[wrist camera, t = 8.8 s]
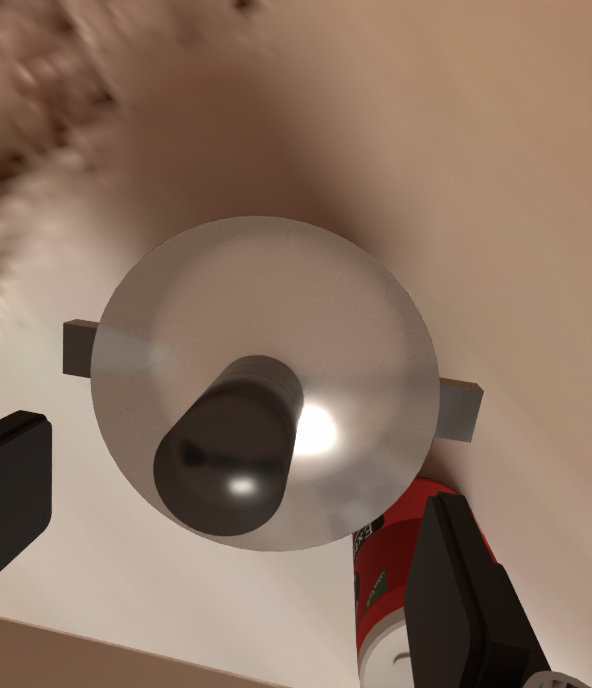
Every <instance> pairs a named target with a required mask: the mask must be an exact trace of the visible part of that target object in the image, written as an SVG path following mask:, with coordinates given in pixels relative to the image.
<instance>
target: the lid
mask: <svg viewBox="0 0 592 688" xmlns="http://www.w3.org/2000/svg"><path fill="white" fill-rule="evenodd" d="M90 373H91V393H92V399H93V405H94V411H95V415H96V418H97V422H98V425H99V428H100V432H101V434H102V436H103V439H104V441H105V443H106V445H107V448H108V450H109V452H110V454H111V456H112V457H113V459H114V461H115V462H116V464H117V466H118V467H119V469H120V471H121V472H122V473H123V474H124V476H125V477H126V478H127V480H128V481H129V482H130V484H131V485H132V486H133V487H134V488H135V489H136V490H137V492H138V493H139V494H140V495H141V496H142V497H143V498H144V499H145V500H146V501H147V502H148V503H149V504H151V505H152V506H153V507H154V508H156V509H157V510H158V511H159V512H160V513H162V514H163V515H164V516H166V517H167V518H169V519H170V520H172V521H173V522H175V523H176V524H178V525H179V526H181V527H183V528H185V529H187V530H189V531H191V532H193V533H195V534H197V535H199V536H201V537H204V538H206V539H209V540H212V541H215V542H217V543H220V544H224V545H228V546H232V547H236V548H240V549H248V550H255V551H278V552H282V551H292V550H302V549H307V548H311V547H316V546H321V545H324V544H327V543H330V542H333V541H336V540H338V539H341V538H344V537H346V536H348V535H350V534H352V533H354V532H356V531H358V530H360V529H362V528H363V527H365V526H366V525H368V524H369V523H371V522H372V521H374V520H375V519H377V518H378V517H379V516H380V515H382V514H383V513H384V512H385V511H386V510H387V509H388V508H390V507H391V506H392V505H393V504H394V503H395V502H396V501H397V500H398V499H399V497H400V496H401V495H402V494H403V493H404V492H405V491H406V489H407V488H408V487H409V486H410V484H411V483H412V481H413V479H414V478H415V476H416V475H417V473H418V472H419V470H420V469H421V466H422V464H423V462H424V460H425V458H426V456H427V454H428V452H429V450H430V446H431V443H432V440H433V437H434V433H435V430H436V425H437V419H438V413H439V407H440V380H439V372H438V364H437V359H436V355H435V351H434V348H433V344H432V340H431V337H430V335H429V332H428V330H427V328H426V325H425V323H424V321H423V318H422V316H421V314H420V313H419V311H418V309H417V308H416V306H415V304H414V303H413V301H412V299H411V298H410V296H409V294H408V293H407V292H406V291H405V290H404V288H403V287H402V286H401V285H400V283H399V282H398V281H397V280H396V278H395V277H394V276H393V275H392V274H391V273H390V272H389V271H388V270H387V269H386V268H385V267H384V266H383V265H381V264H380V263H379V262H378V261H377V260H376V259H375V258H374V257H372V256H371V255H370V254H368V253H367V252H365V251H364V250H363V249H361V248H360V247H358V246H357V245H355V244H354V243H352V242H350V241H349V240H347V239H345V238H343V237H341V236H339V235H337V234H335V233H333V232H331V231H329V230H326V229H323V228H320V227H318V226H315V225H312V224H309V223H306V222H301V221H297V220H292V219H287V218H283V217H270V216H242V217H230V218H226V219H221V220H216V221H211V222H207V223H204V224H201V225H199V226H196V227H193V228H190V229H188V230H185V231H183V232H181V233H179V234H177V235H176V236H174V237H172V238H170V239H168V240H166V241H164V242H163V243H162V244H160V245H159V246H157V247H156V248H155V249H153V250H152V251H151V252H149V253H148V254H147V255H145V256H144V257H143V258H142V259H141V260H140V261H139V262H138V263H137V264H136V265H135V266H134V267H133V268H132V269H131V270H130V271H129V272H128V274H127V275H126V276H125V278H124V279H123V280H122V281H121V283H120V284H119V285H118V287H117V288H116V290H115V291H114V293H113V295H112V297H111V298H110V300H109V302H108V304H107V306H106V307H105V310H104V312H103V315H102V317H101V320H100V323H99V325H98V328H97V332H96V336H95V340H94V345H93V349H92V359H91V369H90Z"/></svg>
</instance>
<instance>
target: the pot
mask: <svg viewBox="0 0 592 688" xmlns="http://www.w3.org/2000/svg"><path fill="white" fill-rule="evenodd" d="M98 325H99V323H98V322H92V321H85V320H79V319H75V320H72V321H68V322H65V323H63V374H68V375H74V376H80V377H86V378H91V373H90V369H91V359H92V349H93V345H94V340H95V336H96V332H97V328H98ZM439 380H440V407H439V413H438V419H437V425H436V430H435V433H434V437H440V438H446V439H452V440H458V441H464V442H470V443H471V439H472V435H473V431H474V427H475V423H476V419H477V415H478V412H479V408H480V404H481V400H482V396H483V392H484V391H483V390H482V389H481V388H480V386H479V385H478V384H477V383H470V382H464V381H458V380H452V379H446V378H439Z"/></svg>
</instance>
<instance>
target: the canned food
mask: <svg viewBox="0 0 592 688" xmlns="http://www.w3.org/2000/svg"><path fill="white" fill-rule="evenodd" d="M438 491H443V492H448V493H454V494H456V493H455V492H453V491H452V490H451V489H450V488H448V487H446V486H445V485H443V484H441V483H439V482H436V481H433V480H430V479H427V478H421V477H415V478H414V479H413V481H412V483H411V484H410V486H409V487H408V488H407V489H406V491H405V492H404V493H403V494H402V495H401V496H400V497H399V499H398V500H397V501H396V502H395V503H394V504H393V505H392V506H391V507H390V508H388V509H387V510H386V511H385V512H384V513H383V514H382V515H380V516H379V517H378V518H377V519H375V520H374V521H372V522H371V523H369V524H368V525H366V526H365V527H363V528H362V529H360V530H358V531H356V532H354V533H352V534H353V563H354V593H355V622H356V646H357V662H358V675H359V679H360V687H361V688H414V681H413V674H412V667H411V659H410V652H409V644H408V637H407V629H406V622H405V614H404V593H405V588H406V584H407V580H408V576H409V571H410V567H411V563H412V559H413V555H414V550H415V546H416V542H417V538H418V534H419V530H420V525H421V521H422V517H423V513H424V509H425V504H426V501H427V498H428V496H429V495H430V496H436V494H437V492H438ZM470 509H471V508H470ZM471 511H472V510H471ZM472 514H473V512H472ZM473 516H474V514H473ZM474 518H475V516H474ZM475 521H476V523H477V525H478V528H479V530H480V532H481V535H482V537H483V539H484V541H485V544H486V546H487V548H488V551H489V553H490V555H491V558H492V560H493V562H496V563H497V561H496V559H495V557H494V555H493V553H492V550H491V548H490V546H489V544H488V542H487V540H486V538H485V536H484V534H483V532H482V530H481V528H480V526H479V524H478V522H477V520H476V518H475Z"/></svg>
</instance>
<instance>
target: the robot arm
mask: <svg viewBox="0 0 592 688" xmlns="http://www.w3.org/2000/svg"><path fill="white" fill-rule="evenodd" d="M51 514H52V425H51V423H50V422H49V421H47V418H46V416H45V415H43V414H38V413H33V412H28V411H23V410H19V411H16V412H14V413H12V414H10V415H8V416H6V417H4V418H2V419H0V571H1V570H3V569H4V568H5V567H6V566H7V565H8V564H9V563H10V562H11V561H12V560H13V559H14V558H15V557H17V556H18V555H19V554H20V553H21V552H22V551H23V550H24V549H25V548H26V547H27V546H28V545H29V544H30V543H32V542H33V541H34V540H35V539H36V538H37V537H38V536H39V535H40V534H41V533H42V532H43V531H44V530H45V529H46V528H47V526H48V524H49V522H50V519H51ZM404 614H405V622H406V629H407V637H408V644H409V652H410V659H411V667H412V674H413V681H414V688H591V687H589V686H588V685H586V684H584V683H583V682H581V681H579V680H578V679H576V678H573V677H571V676H568V675H566V674H563V673H560V672H553V671H552V670H551V668H550V666H549V664H548V662H547V659H546V657H545V655H544V653H543V651H542V649H541V646H540V644H539V642H538V640H537V638H536V636H535V633H534V631H533V629H532V627H531V625H530V622H529V620H528V618H527V616H526V614H525V612H524V609H523V607H522V605H521V603H520V601H519V599H518V596H517V594H516V592H515V590H514V588H513V585H512V583H511V581H510V579H509V577H508V575H507V572H506V570H505V569H504V567H503V566H502V565H501V564H499V563H496V562H493V560H492V558H491V555H490V553H489V551H488V548H487V546H486V544H485V541H484V539H483V537H482V535H481V532H480V530H479V528H478V525H477V523H476V521H475V518H474V516H473V514H472V511H471V509H470V507H469V505H468V502H467V500H466V498H465V496H463V495H459V494H454V493H448V492H443V491H438V492H437V494H436V496H430V495H429V496H428V498H427V501H426V504H425V509H424V513H423V517H422V521H421V525H420V530H419V534H418V538H417V542H416V546H415V550H414V555H413V559H412V563H411V567H410V571H409V576H408V580H407V584H406V588H405V593H404ZM0 688H292V687H288V686H284V685H280V684H276V683H271V682H267V681H263V680H259V679H255V678H251V677H247V676H243V675H239V674H235V673H231V672H227V671H223V670H219V669H215V668H211V667H207V666H203V665H199V664H195V663H191V662H187V661H183V660H179V659H175V658H171V657H167V656H162V655H158V654H154V653H150V652H146V651H142V650H138V649H134V648H129V647H125V646H121V645H117V644H113V643H109V642H105V641H100V640H96V639H92V638H88V637H84V636H80V635H76V634H71V633H67V632H63V631H59V630H55V629H50V628H46V627H42V626H38V625H34V624H30V623H25V622H21V621H17V620H13V619H9V618H4V617H0Z"/></svg>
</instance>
